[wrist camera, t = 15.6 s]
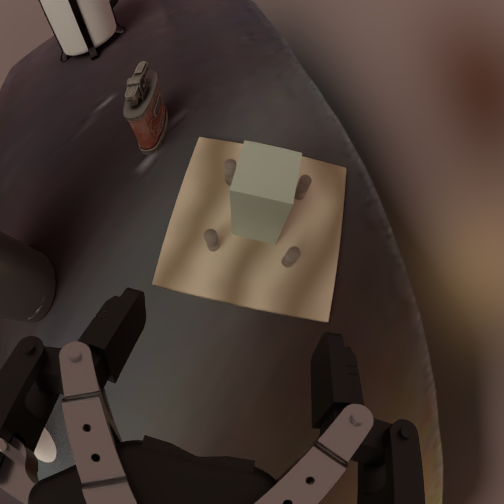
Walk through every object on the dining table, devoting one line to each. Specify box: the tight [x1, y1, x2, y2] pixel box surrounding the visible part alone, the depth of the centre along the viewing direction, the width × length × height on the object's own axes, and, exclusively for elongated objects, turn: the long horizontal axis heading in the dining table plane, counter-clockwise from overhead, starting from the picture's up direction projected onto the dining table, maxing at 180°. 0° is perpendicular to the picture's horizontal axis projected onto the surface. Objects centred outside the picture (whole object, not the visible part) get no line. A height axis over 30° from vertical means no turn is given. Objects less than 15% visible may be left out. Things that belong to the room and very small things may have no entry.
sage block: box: [230, 140, 302, 244], centre depth 25 cm, size 4×4×10 cm
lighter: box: [123, 61, 168, 155], centre depth 29 cm, size 8×3×10 cm, turn 179°
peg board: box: [152, 137, 346, 322], centre depth 29 cm, size 18×18×5 cm
